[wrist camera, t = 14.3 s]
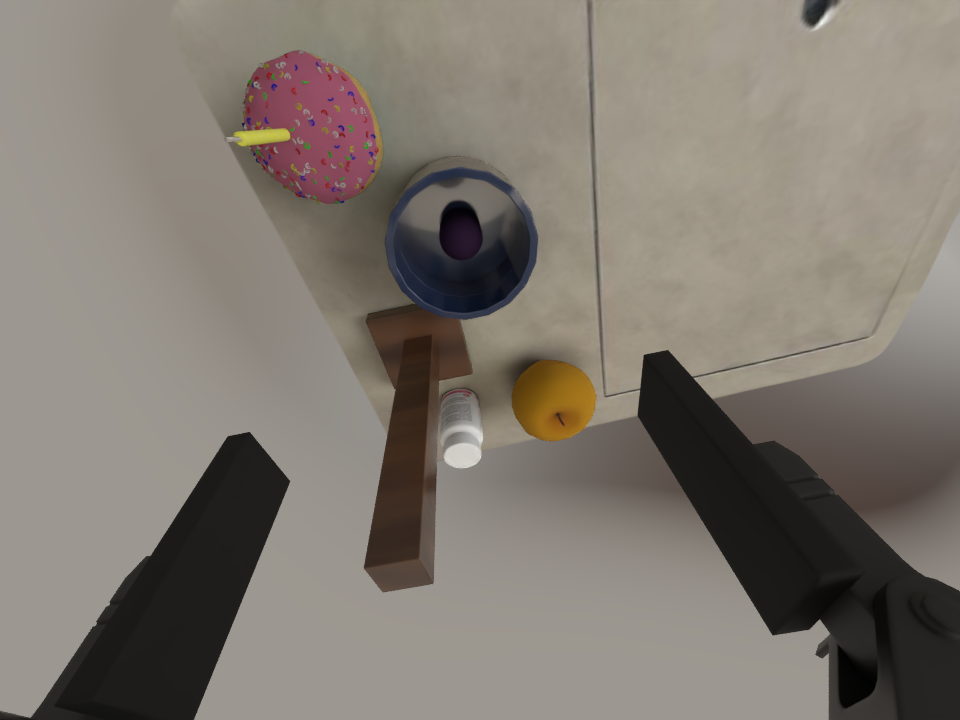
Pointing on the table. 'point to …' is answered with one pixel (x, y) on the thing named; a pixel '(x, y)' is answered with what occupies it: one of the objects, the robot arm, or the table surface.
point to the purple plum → (460, 234)
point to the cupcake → (311, 128)
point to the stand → (411, 441)
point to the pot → (442, 278)
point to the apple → (553, 400)
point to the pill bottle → (461, 428)
